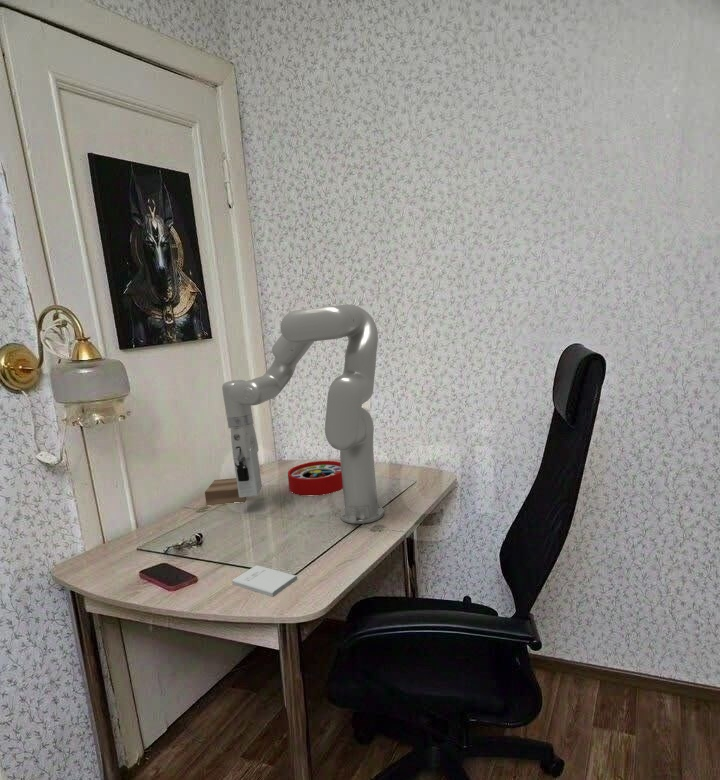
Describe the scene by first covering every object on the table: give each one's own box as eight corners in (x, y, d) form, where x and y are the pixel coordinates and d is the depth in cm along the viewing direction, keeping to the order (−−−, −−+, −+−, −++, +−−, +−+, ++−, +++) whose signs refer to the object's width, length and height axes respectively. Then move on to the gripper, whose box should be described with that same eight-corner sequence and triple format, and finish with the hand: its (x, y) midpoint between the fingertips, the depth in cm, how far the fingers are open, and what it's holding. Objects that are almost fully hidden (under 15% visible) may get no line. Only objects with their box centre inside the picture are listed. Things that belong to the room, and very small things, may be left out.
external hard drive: (273, 599, 116) (232, 586, 123) (297, 581, 122) (258, 570, 129) (272, 592, 115) (231, 579, 122) (297, 575, 122) (257, 563, 129)
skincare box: (244, 489, 171) (237, 444, 169) (263, 487, 171) (256, 441, 169) (238, 498, 162) (230, 450, 160) (258, 496, 162) (250, 448, 160)
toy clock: (297, 461, 195) (351, 460, 192) (298, 477, 196) (352, 475, 192) (279, 480, 176) (339, 478, 172) (281, 497, 177) (341, 496, 173)
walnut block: (243, 503, 174) (241, 488, 173) (206, 506, 174) (204, 492, 173) (251, 490, 186) (249, 477, 185) (216, 493, 186) (214, 480, 185)
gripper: (242, 426, 154) (251, 484, 157) (260, 414, 171) (268, 466, 174) (217, 428, 155) (227, 486, 158) (238, 416, 172) (246, 468, 175)
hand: (248, 475), depth 166 cm, fingers closed on skincare box, 8 cm apart
